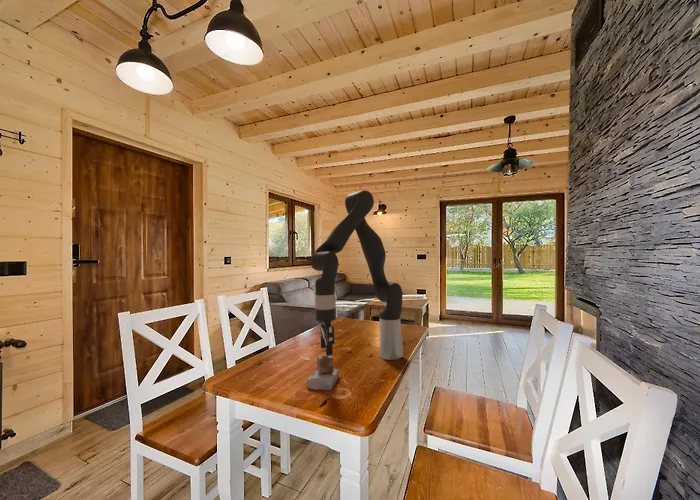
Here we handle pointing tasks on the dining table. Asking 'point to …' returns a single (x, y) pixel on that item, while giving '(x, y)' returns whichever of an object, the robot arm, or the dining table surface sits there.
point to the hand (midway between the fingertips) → (326, 351)
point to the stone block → (322, 380)
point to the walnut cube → (324, 364)
